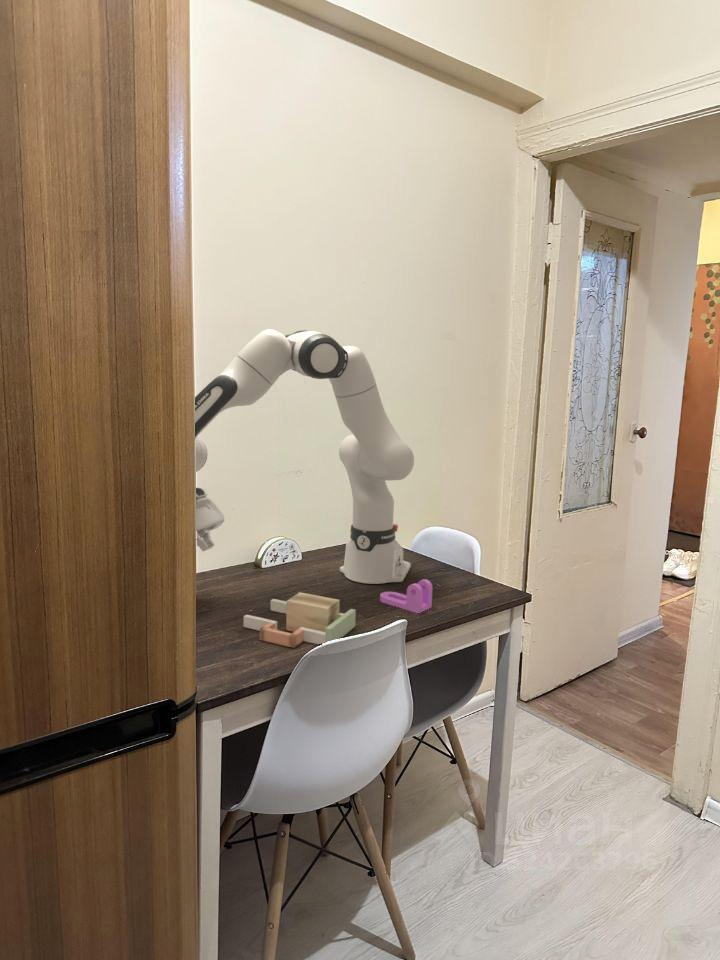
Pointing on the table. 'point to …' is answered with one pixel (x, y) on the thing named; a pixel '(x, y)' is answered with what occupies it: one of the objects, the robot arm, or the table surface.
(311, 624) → the maple block
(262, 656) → the table surface
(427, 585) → the bracket
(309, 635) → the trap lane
